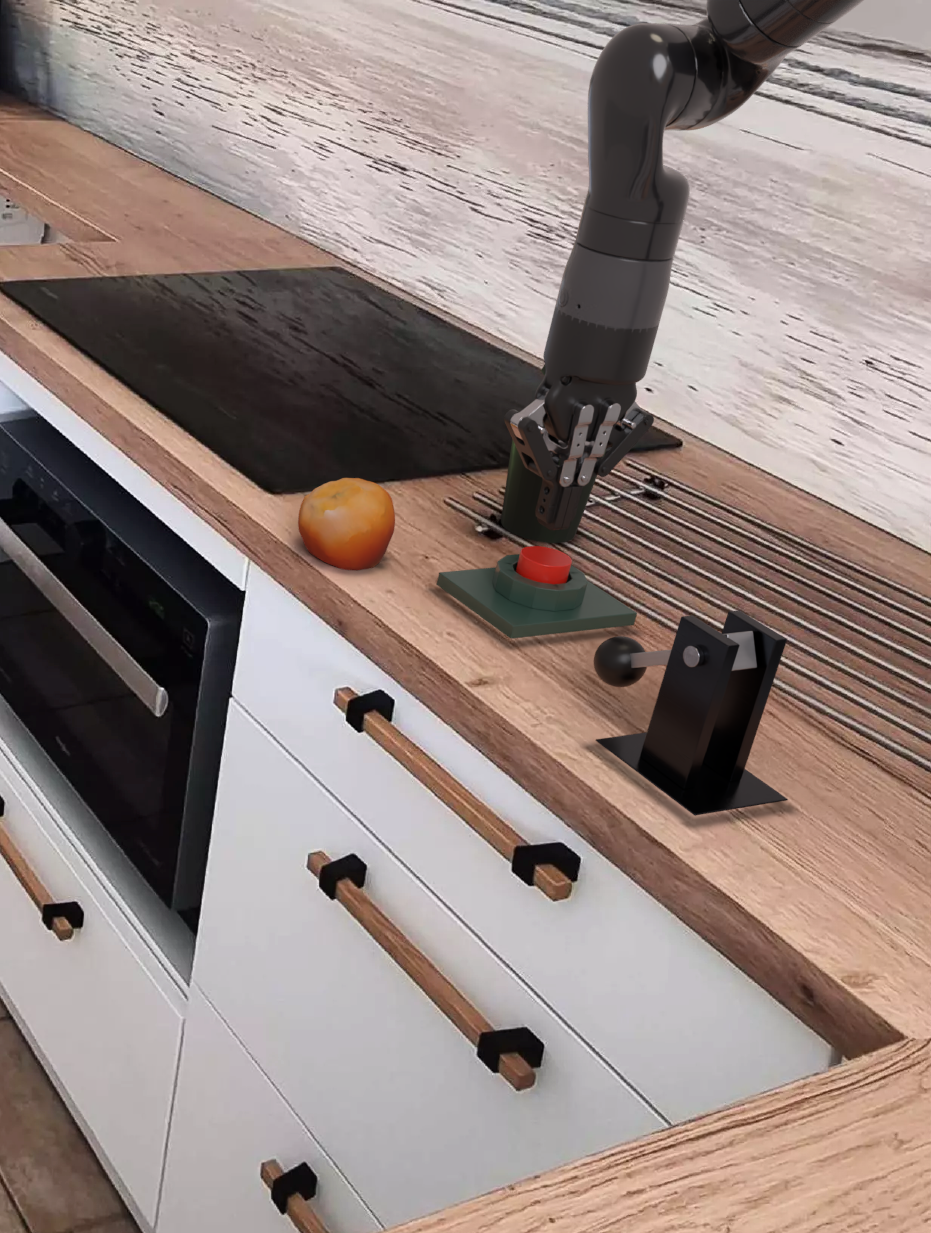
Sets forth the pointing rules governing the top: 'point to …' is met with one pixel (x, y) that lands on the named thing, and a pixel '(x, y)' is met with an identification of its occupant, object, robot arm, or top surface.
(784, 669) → the top surface
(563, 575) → the button
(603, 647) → the switch lever
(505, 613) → the button box
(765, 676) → the switch bracket
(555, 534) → the potion bottle
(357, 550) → the fruit
